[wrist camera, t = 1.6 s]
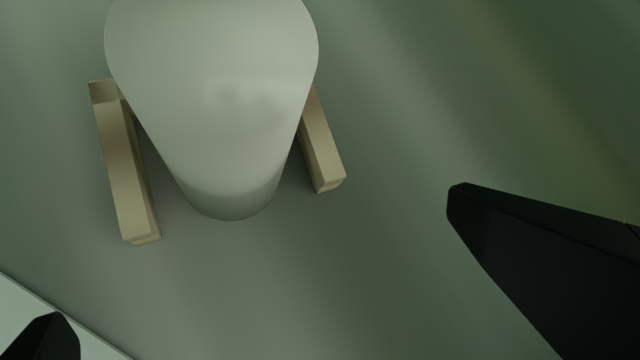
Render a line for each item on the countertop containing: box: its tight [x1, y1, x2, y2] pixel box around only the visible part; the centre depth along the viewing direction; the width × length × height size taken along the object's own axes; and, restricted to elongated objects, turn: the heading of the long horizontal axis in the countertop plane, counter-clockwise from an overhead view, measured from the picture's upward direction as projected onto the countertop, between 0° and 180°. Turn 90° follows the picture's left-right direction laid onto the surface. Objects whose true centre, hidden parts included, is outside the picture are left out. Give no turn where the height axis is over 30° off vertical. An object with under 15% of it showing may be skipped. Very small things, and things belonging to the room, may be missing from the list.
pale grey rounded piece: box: [103, 0, 318, 221], centre depth 16 cm, size 8×5×12 cm
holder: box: [88, 78, 347, 246], centre depth 20 cm, size 8×11×2 cm
